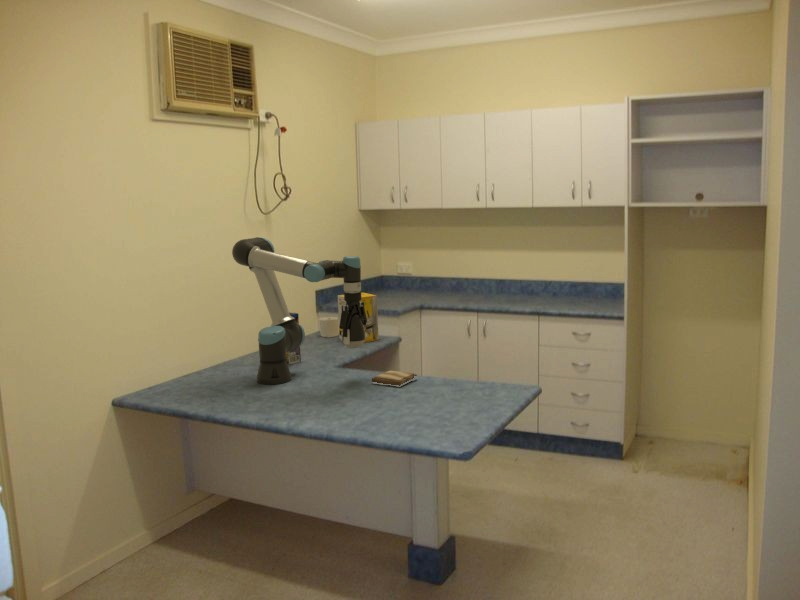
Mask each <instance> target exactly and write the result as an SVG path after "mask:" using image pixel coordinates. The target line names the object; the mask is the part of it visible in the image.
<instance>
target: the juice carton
mask: <svg viewBox="0 0 800 600" xmlns="http://www.w3.org/2000/svg"><path fill="white" fill-rule="evenodd" d="M289 314H290V316H292V317H294V318H295V320H296V323H298V324H299V325H300V321H299V320H300V319H299V318H300V317H299V313H298V312H292V311H289ZM301 359H302V358H301V346H299V347H298V348H297V349H294V350H291V351H289V352H286V361H287V365H292V364H296V363H301V361H302V360H301Z"/></svg>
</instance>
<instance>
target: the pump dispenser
mask: <svg viewBox="0 0 800 600" xmlns="http://www.w3.org/2000/svg"><path fill="white" fill-rule="evenodd" d="M364 317H365V315H362V316H358V314H356V313H353V315H352V317H351V320H350V324H349V327H348V329H349V335H350V344H344V345H345V346H346V347H347V348H348V349H358V348H361V347H362V346H363V345H364V344H365V342H364V340H365V331H364V326H363V323H362V321H361V319H362V318H364ZM341 341H342V342H343V343H344V337H343V333H342V340H341Z"/></svg>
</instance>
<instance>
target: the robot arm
mask: <svg viewBox="0 0 800 600" xmlns="http://www.w3.org/2000/svg"><path fill="white" fill-rule="evenodd" d="M231 250H232V251H231V256H232V259H233V260H234V261H235V262H236V263H237V264H239V265H241V266H245V267H248V269H249V272H252V273H253V274H254V275H255V278H256V280H257V283H258V286H259V289H260V292H261V294H262V297H263V300H264V303H265V305H266V307H267V308H266V309H267V311H268V314H269V316H270V318H271V322H272V323H271V325H270V326H266V327H264V328H262V329H260V330H259V331H258V336H257V337H258V338H257V342H258V353H259V367H258V371H257V375H256V382H257V383H258V384H261V385H262V384H263V385H277V384H278V385H279V384H284V383H287V382H290V381H291V380H292V373H291V372H290V369H289V364H287V361H286V352H289V351H291V350H294V349H297V348H298V347H299V346H300V347H301V346H302V345H303V344H304V342H305V340H306V339H305V338H306V332H305V329H304V328H303V326H302V325H301V324H300V323H299V324H298V323H296V320H295V318H294V317H292V316H290V314H289V312H290V310H289V308H288V306H287V303H286V299H285V298H284V297H285V296H284V294H283V292H282V290H281V286H280V284H279V281H278V278H277V276H276V274H275V273H276V272H278V273H283V274H288V275H290V276H295V277H300V278H303V279H306V281H308V282H309V283H319V282H321V281H324V280H325V281H326V280H329V279H333V278H334V279H335V278H336V279H338V278H339V279H343V291H344V293H343V295H344V300H345V301H346V306H342V313H341V320H340V326H339V328H340V329H343V337H344V342H343V344H344V345H345V344H350V335H349V329H348V327H349V324H350V320H351V317H352V315H353V313H356V314H358V316H362V315H365V317H364V318H362V319H361V321H362V323H363V326H364V325H366V323H367V318H366V313H365V308H364V302H359V301H361V293H362V280H361V279H362V276H361V274H362V273H361V272H362V271H361V269H362V266H361V258H360V256H357V255H346V256H343V258H342V260H329V259H326V260H325V259H324V260H320V261H318V262H313V261H309V260H306V259H302V258H297V257H294V256H293V257H292V256H290V255H286V254H281V253H277V252H275V248H274V244H273V243H272V242H271V241H270V239H267V238H265V237H251V238H245V239H240V240H238V241H237V242H235V243H234V245H233V247H232V249H231ZM348 312H349V313H348Z"/></svg>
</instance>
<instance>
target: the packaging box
mask: <svg viewBox="0 0 800 600" xmlns="http://www.w3.org/2000/svg"><path fill="white" fill-rule="evenodd" d="M359 302H364V308H365V313H366V318H367V323H366V325H364V331H365V340H364V343H366V342H367V343H368V342H369V343H370V342H374V341H379V321H378V320H379V318H378V317H379V316H378V315H379V313H378V312H379V311H378V310H379V309H378V295H376V294H370V293H366V292H361V301H359ZM342 306H346V301H345V300H344V294H340V295H339V294H338V295H337V312H338V324H339V326H340V320H341V313H342ZM348 313H349V312H348ZM342 333H343V329H340V328H339V335H338V336H339V337H338V338H339V340H340V341H343V340H342Z"/></svg>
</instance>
